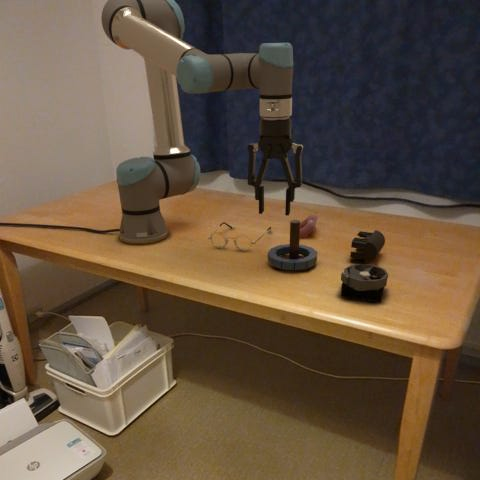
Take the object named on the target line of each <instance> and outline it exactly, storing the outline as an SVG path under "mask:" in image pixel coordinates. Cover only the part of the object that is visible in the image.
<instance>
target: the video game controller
mask: <svg viewBox="0 0 480 480" xmlns="http://www.w3.org/2000/svg"><path fill="white" fill-rule="evenodd" d="M318 218H319V217H318V215H317V214H313V213H311V214H309V215H308V216H307V217H306V218H305V219H303V220H302V221H300V239H302V238H305V237H307V236H310V235H311V233H312V232H313V231H316V230H317V220H318Z"/></svg>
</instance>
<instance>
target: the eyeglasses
mask: <svg viewBox="0 0 480 480" xmlns="http://www.w3.org/2000/svg"><path fill="white" fill-rule="evenodd" d="M223 225H226V226H227V227H228V228H229V229H231V230H233V226H231V225H229V224H228V223H226V222H225V221H224V222H221V223H220V224H219V226H218V227H217V228H216V229H215V230H214V231H213V232H212V233H211V234H210V235H209V236H208V240H210V241H211V243H212V245H213V246H214V247H216V248H218V249H223V248H225V247H227V245H228V243H229V239H230V237H229V236H227V237H225V236H224V234H222V233H220V232H219V231H218V229H219V228H221V226H223ZM271 231H272V227H271V226H269V227H268V228H267V229H266V230H265V232H263V233H262V234H261V235H260V236H259V237H258V238H257V239H256V240H255V241H252V239H251V238H250V237H249V236H248V235H246V234H240V235H238V236H237V237H236V238H235V237H231V239H232V240H233V243H234V246H235V248H236V249H238V250H239V251H242V252H245V251H248V250H249V248H246V249H243V248H240V247H239V246H238V242H237V239H238V238H239V237H246V238H248V239H249V241H250V246H252V245H255V244H256V243H257V242H258V241H260V240H261V238H262V237H263V236H264V235H265V234H266V233H267V232H268V233H271ZM214 234H219V235H221V236H222V237H223V239H224V245H223V246H218V245H216V244H215V243H214V242H213V239H212V237H213V235H214Z"/></svg>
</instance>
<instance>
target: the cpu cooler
mask: <svg viewBox="0 0 480 480" xmlns="http://www.w3.org/2000/svg"><path fill="white" fill-rule="evenodd" d="M340 274H341V275H340V281H341V282H342V283H341V289H340V297H342V298H344V299H347V300H350V301H351V300H352V301H358V302H366V303H377V302H378V303H381V302H382V299H383V295H384V291H385V288H386V287H387V284H388V279H389V273H388V271H387V269H385V268H383V267H380V266H379V265H376V264H370V263H369V264H357V263H355V264H350V265H349V266H346V267H344V269H343V272H341V273H340Z"/></svg>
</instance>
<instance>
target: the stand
mask: <svg viewBox="0 0 480 480" xmlns="http://www.w3.org/2000/svg"><path fill="white" fill-rule="evenodd" d="M300 223H301V220H299V219H292V220H290V221H289V244H290V245H289V254H285V255H281V256H280V257H281V258H284V259H293V260H295V259H303V258H305V257H306V256H303V255H300V254H299V245H300V241H301V240H300V239H301V238H300V229H301V228H300ZM275 268H276V269H277V270H281V269H280V268H277V267H275ZM307 270H308V268H306V269H301V270H297V271H299V272H307Z"/></svg>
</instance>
